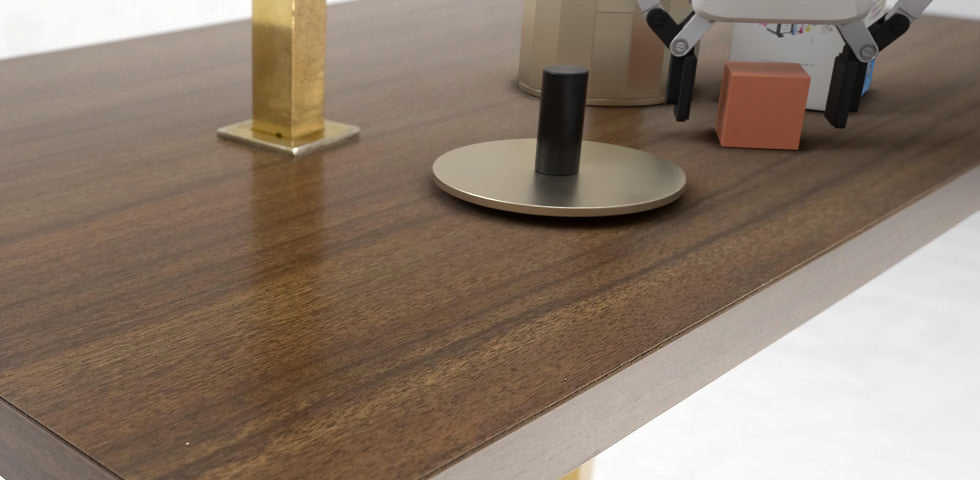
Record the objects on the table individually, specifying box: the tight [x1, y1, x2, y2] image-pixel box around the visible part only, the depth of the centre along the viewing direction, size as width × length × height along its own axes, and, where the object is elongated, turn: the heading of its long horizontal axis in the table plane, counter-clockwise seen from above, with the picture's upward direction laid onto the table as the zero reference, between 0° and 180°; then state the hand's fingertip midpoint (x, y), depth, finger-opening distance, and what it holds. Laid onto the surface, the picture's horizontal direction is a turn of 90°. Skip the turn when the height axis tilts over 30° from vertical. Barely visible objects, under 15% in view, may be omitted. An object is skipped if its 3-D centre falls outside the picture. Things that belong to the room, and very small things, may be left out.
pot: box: [517, 0, 702, 107], centre depth 86 cm, size 13×18×8 cm
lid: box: [431, 65, 687, 218], centre depth 63 cm, size 14×14×7 cm
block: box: [714, 60, 811, 151], centre depth 73 cm, size 4×4×4 cm
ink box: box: [727, 0, 887, 112], centre depth 82 cm, size 9×8×12 cm
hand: (756, 119), depth 73 cm, fingers open, 8 cm apart
